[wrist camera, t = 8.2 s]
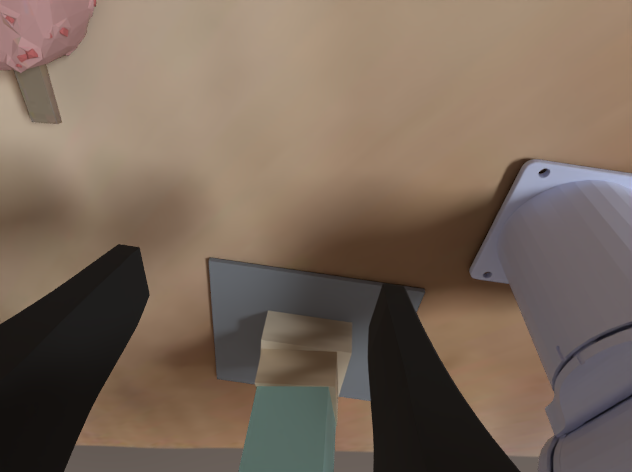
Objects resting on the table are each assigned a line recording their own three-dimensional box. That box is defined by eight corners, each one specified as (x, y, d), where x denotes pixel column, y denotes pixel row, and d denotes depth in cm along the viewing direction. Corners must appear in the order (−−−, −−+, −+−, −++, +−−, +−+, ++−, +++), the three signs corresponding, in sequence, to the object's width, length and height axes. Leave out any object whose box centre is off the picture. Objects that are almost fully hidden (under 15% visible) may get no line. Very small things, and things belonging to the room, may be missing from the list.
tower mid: (337, 351, 26) (335, 386, 24) (338, 392, 29) (336, 426, 27) (262, 348, 26) (254, 383, 24) (271, 389, 30) (265, 422, 28)
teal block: (328, 386, 24) (322, 476, 20) (335, 422, 27) (331, 508, 23) (257, 386, 25) (238, 473, 21) (271, 421, 27) (257, 504, 24)
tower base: (352, 322, 28) (351, 353, 26) (338, 369, 32) (337, 399, 30) (267, 310, 28) (261, 339, 26) (264, 358, 32) (258, 388, 30)
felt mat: (424, 288, 26) (425, 292, 25) (377, 398, 34) (377, 402, 34) (209, 257, 25) (208, 260, 25) (218, 375, 34) (217, 378, 34)
